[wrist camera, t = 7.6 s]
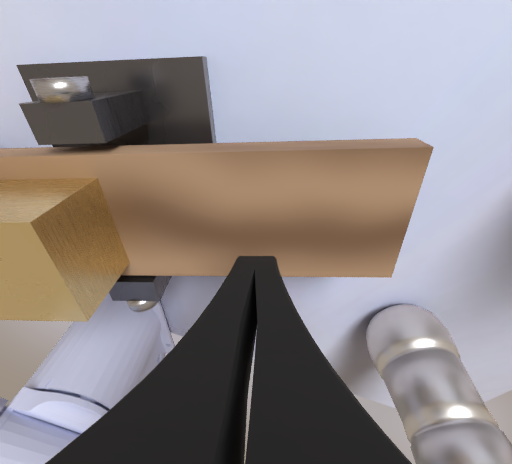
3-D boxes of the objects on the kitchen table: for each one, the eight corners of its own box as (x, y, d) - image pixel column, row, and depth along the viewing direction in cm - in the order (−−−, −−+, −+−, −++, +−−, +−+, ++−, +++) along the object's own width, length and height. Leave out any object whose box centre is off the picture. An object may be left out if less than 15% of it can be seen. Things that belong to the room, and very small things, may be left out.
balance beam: (366, 232, 18) (391, 277, 14) (-37, 233, 20) (-108, 273, 16) (390, 125, 14) (433, 147, 11) (-109, 139, 16) (-225, 162, 12)
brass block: (129, 262, 15) (87, 321, 11) (45, 262, 15) (-20, 319, 12) (97, 178, 12) (29, 222, 9) (-5, 179, 12) (-108, 222, 9)
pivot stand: (229, 260, 22) (217, 319, 17) (113, 259, 22) (67, 317, 17) (206, 56, 14) (169, 53, 9) (31, 65, 15) (-95, 65, 10)
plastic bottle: (348, 335, 26) (486, 824, 9) (378, 287, 22) (694, 950, 6) (409, 345, 27) (647, 833, 10) (448, 300, 23) (937, 955, 6)
